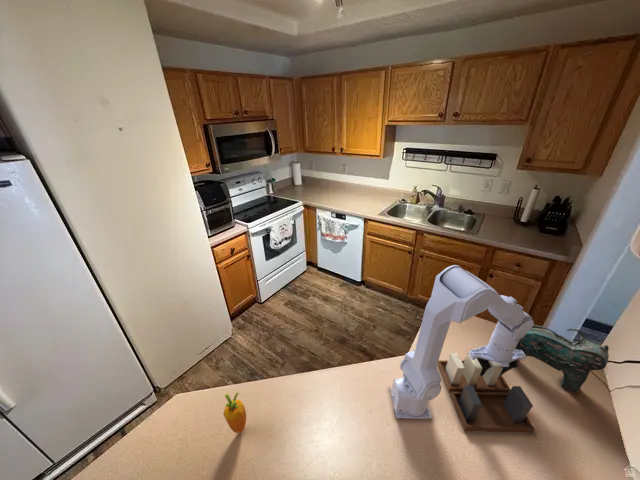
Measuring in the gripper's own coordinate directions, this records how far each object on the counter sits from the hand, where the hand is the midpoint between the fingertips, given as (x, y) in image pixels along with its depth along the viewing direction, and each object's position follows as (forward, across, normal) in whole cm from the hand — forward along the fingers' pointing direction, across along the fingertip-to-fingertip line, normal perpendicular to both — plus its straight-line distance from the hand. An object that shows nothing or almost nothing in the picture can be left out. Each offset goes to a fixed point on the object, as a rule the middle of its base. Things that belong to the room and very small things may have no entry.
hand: (488, 372), depth 78 cm
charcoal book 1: (+2, -11, -10) cm, 15 cm away
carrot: (+3, -72, -16) cm, 73 cm away
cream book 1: (+2, -10, 0) cm, 11 cm away
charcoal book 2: (+2, +2, -10) cm, 10 cm away
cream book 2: (+2, -6, 0) cm, 6 cm away
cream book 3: (+2, 0, 0) cm, 2 cm away
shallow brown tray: (+3, -4, 0) cm, 5 cm away
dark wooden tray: (+3, -4, -10) cm, 11 cm away
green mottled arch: (+3, +18, +2) cm, 18 cm away
